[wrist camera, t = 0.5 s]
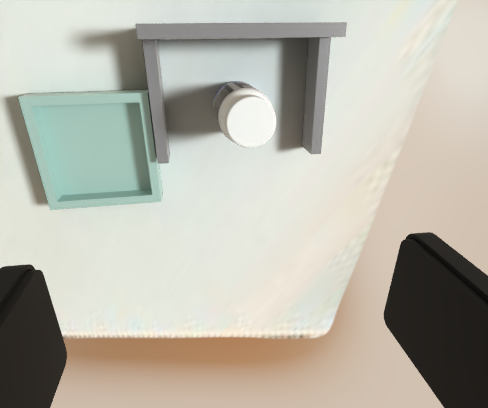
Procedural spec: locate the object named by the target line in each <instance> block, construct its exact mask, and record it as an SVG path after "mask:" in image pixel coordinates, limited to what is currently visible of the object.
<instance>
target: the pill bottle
mask: <svg viewBox="0 0 488 408" xmlns="http://www.w3.org/2000/svg"><path fill="white" fill-rule="evenodd" d="M213 111H214V114H215V117H216V119H217V121H218V124H219V126H220V128H221V130H222V132H223V133H224V135H225V136H226V137H227V138H228V139H229V140H231V141H233V142H235V143H237V144H238V145H240V146H242V147H247V148H254V147H258V146H261V145H263V144H264V143H266V142H267V141H268V140H269V139H270V138H271V136H272V135H273V133H274V131H275V127H276V115H275V112H274V110H273V107H272V104H271V102H270V100H269V99H268V98H267V96H266V95H265V94H263V93H262V92H260V91H259V90H257V89H255V88H254V87H252V86H250V85H249V84H247V83H244V82H240V81H235V82H230V83H227V84H225V85H224V86H222V87H221V88H220V89H219V90H218V92H217V93H216V95H215V98H214V101H213Z"/></svg>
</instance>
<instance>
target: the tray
mask: <svg viewBox="0 0 488 408" xmlns="http://www.w3.org/2000/svg"><path fill="white" fill-rule="evenodd" d="M18 99H19V102H20V106H21V109H22V113H23V116H24V120H25V123H26V127H27V130H28V134H29V137H30V141H31V144H32V148H33V151H34V155H35V158H36V162H37V165H38V169H39V172H40V176H41V180H42V183H43V187H44V190H45V194H46V197H47V201H48V204H49V208H50V210H57V209H70V208H83V207H97V206H110V205H123V204H136V203H150V202H161V201H162V194H163V192H162V184H161V176H160V168H159V163H158V161H157V153H156V145H155V137H154V130H153V122H152V114H151V106H150V98H149V90H119V91H88V92H56V93H28V94H25V95H22V96H19V97H18Z"/></svg>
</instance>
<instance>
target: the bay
mask: <svg viewBox="0 0 488 408" xmlns="http://www.w3.org/2000/svg"><path fill="white" fill-rule="evenodd" d="M346 25H347V22H339V23H187V24H136V31H137V39H140V40H142V43H143V50H144V58H145V66H146V74H147V82H148V90H149V98H150V106H151V114H152V122H153V130H154V137H155V145H156V153H157V161H158V163H169V156H170V150H169V141H168V132H167V123H166V114H165V105H164V96H163V86H162V77H161V68H160V59H159V50H158V41H157V40H174V39H252V38H309V40H308V57H307V73H306V89H305V105H304V121H303V138H302V147H304V148H305V149H306V150H307V151H308V152H309V153H310V154H321V145H322V134H323V122H324V111H325V99H326V88H327V76H328V64H329V53H330V41H331V37H345V35H346Z"/></svg>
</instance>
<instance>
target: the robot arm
mask: <svg viewBox="0 0 488 408" xmlns="http://www.w3.org/2000/svg"><path fill="white" fill-rule="evenodd" d="M384 320H385V323H386V325H387V327H388V328H389V330H390V331H391V333H392V334H393V336H394V337H395V338H396V340H397V341H398V343H399V344H400V345H401V347H402V348H403V350H404V351H405V353H406V354H407V355H408V357H409V358H410V360H411V361H412V362H413V364H414V365H415V367H416V368H417V369H418V371H419V372H420V374H421V375H422V377H423V378H424V380H425V381H426V382H427V384H428V385H429V386H430V388H431V389H432V391H433V392H434V394H435V395H436V397H437V398H438V399H439V401H440V402H441V404H442V405H443V406H444V408H488V276H487V275H486V274H485V273H484V272H482V271H481V270H480V269H478V268H477V267H475V266H474V265H473V264H472V263H471V262H469V261H468V260H467V259H466V258H464V257H463V256H462V255H461V254H459V253H458V252H457V251H455V250H454V249H453V248H451V247H450V246H449V245H448V244H446V243H445V242H444V241H442V240H441V239H440V238H439V237H437V236H436V235H435V234H433V233H415V234H409V235H408V236H407V237H406V239H405V240H403V241H402V242H401V245H400V249H399V253H398V257H397V261H396V265H395V269H394V273H393V278H392V282H391V286H390V290H389V294H388V298H387V302H386V306H385V310H384ZM66 359H67V352H66V347H65V344H64V341H63V337H62V334H61V331H60V327H59V324H58V321H57V318H56V314H55V311H54V308H53V304H52V301H51V298H50V295H49V291H48V288H47V285H46V282H45V278H44V275H43V273H42V271H41V270H35V268H34V267H33V266H32V265H17V266H5V267H2V268H1V269H0V408H50V406H51V403H52V401H53V398H54V395H55V392H56V390H57V387H58V384H59V381H60V378H61V376H62V373H63V370H64V367H65V364H66Z"/></svg>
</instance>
